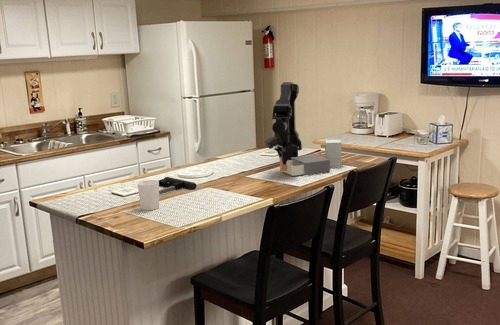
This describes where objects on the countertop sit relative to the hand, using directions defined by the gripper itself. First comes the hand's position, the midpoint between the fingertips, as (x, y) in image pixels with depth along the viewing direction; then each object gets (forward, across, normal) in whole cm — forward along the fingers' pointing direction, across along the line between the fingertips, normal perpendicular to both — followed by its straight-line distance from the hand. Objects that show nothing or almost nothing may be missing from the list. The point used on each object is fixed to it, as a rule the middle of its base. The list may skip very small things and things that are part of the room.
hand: (283, 164), depth 240 cm
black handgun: (+6, -3, -53) cm, 53 cm away
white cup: (+5, +21, -67) cm, 70 cm away
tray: (+4, 0, +6) cm, 8 cm away
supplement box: (+5, -3, +28) cm, 29 cm away
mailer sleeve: (+5, 0, +14) cm, 15 cm away
